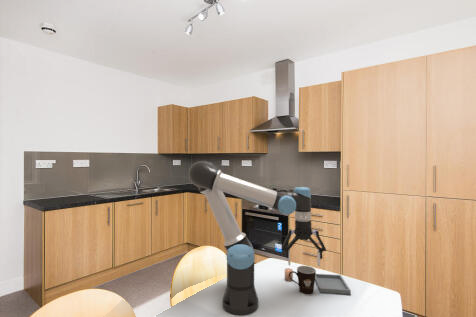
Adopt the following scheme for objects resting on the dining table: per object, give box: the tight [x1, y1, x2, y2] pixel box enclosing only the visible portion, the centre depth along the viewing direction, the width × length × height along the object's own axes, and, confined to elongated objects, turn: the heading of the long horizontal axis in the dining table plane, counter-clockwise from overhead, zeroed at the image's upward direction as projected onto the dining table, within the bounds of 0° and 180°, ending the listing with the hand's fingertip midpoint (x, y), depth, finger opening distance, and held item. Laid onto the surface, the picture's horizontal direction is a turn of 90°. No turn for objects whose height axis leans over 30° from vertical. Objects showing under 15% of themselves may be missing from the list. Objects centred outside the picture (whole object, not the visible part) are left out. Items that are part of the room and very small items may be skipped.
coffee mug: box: [289, 265, 317, 296], centre depth 116 cm, size 12×9×10 cm
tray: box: [315, 273, 352, 296], centre depth 120 cm, size 14×16×2 cm
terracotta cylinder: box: [284, 267, 294, 282], centre depth 127 cm, size 4×4×5 cm
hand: (303, 264), depth 117 cm, fingers open, 13 cm apart
